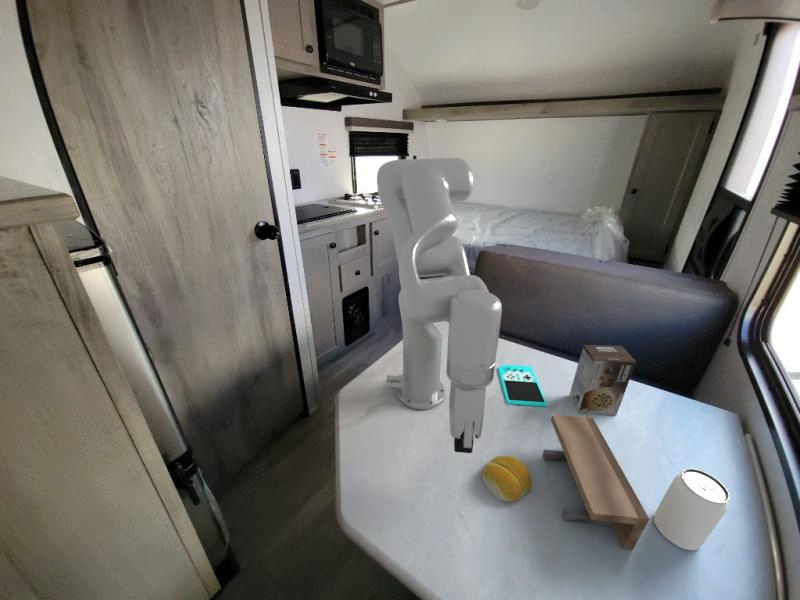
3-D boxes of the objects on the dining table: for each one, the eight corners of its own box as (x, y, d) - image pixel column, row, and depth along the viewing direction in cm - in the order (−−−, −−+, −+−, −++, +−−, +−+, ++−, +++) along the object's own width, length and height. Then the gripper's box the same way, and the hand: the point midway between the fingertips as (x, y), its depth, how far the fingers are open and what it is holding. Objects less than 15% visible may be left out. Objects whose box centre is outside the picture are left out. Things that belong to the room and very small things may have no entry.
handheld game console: (531, 369, 94) (532, 365, 94) (548, 409, 80) (549, 405, 80) (496, 367, 96) (497, 363, 95) (506, 406, 81) (507, 402, 81)
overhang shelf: (570, 543, 53) (583, 512, 49) (537, 442, 71) (544, 414, 67) (632, 550, 52) (649, 519, 48) (582, 446, 70) (592, 417, 66)
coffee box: (604, 397, 83) (622, 345, 76) (617, 416, 77) (638, 361, 70) (567, 395, 84) (582, 343, 77) (577, 413, 78) (594, 359, 71)
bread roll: (538, 485, 62) (542, 471, 60) (507, 511, 58) (510, 497, 56) (504, 454, 68) (506, 441, 66) (474, 476, 64) (476, 462, 62)
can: (643, 512, 57) (667, 467, 52) (677, 509, 58) (704, 464, 52) (674, 554, 51) (705, 508, 46) (711, 550, 52) (746, 504, 47)
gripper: (445, 341, 59) (442, 417, 66) (447, 396, 45) (442, 484, 52) (487, 343, 58) (479, 420, 65) (502, 399, 44) (489, 489, 52)
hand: (462, 448), depth 59 cm, fingers closed
